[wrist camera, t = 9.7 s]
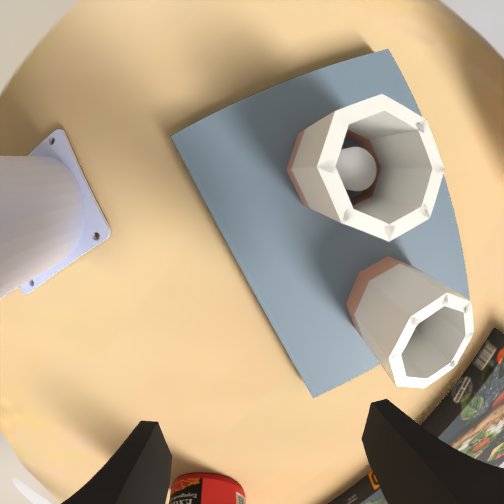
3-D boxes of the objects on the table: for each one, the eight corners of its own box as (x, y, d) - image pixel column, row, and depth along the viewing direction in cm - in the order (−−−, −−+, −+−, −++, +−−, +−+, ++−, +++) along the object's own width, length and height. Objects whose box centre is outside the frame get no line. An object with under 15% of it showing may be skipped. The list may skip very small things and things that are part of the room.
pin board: (308, 385, 20) (322, 426, 16) (175, 139, 16) (155, 127, 11) (459, 297, 20) (493, 319, 15) (378, 56, 15) (412, 31, 11)
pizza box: (551, 378, 27) (561, 387, 24) (432, 506, 34) (438, 517, 31) (491, 324, 22) (512, 340, 18) (301, 517, 28) (305, 536, 25)
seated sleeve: (361, 345, 18) (400, 402, 12) (337, 283, 17) (381, 333, 11) (422, 308, 18) (474, 351, 12) (406, 245, 17) (468, 276, 11)
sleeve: (314, 229, 16) (355, 260, 10) (273, 144, 15) (296, 126, 9) (388, 191, 16) (454, 203, 10) (353, 110, 14) (410, 84, 9)
